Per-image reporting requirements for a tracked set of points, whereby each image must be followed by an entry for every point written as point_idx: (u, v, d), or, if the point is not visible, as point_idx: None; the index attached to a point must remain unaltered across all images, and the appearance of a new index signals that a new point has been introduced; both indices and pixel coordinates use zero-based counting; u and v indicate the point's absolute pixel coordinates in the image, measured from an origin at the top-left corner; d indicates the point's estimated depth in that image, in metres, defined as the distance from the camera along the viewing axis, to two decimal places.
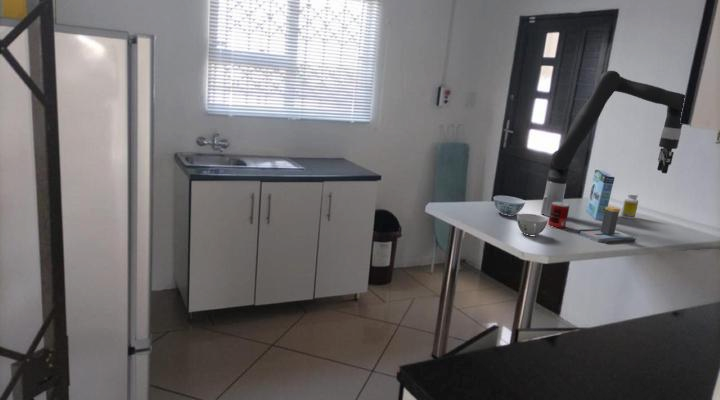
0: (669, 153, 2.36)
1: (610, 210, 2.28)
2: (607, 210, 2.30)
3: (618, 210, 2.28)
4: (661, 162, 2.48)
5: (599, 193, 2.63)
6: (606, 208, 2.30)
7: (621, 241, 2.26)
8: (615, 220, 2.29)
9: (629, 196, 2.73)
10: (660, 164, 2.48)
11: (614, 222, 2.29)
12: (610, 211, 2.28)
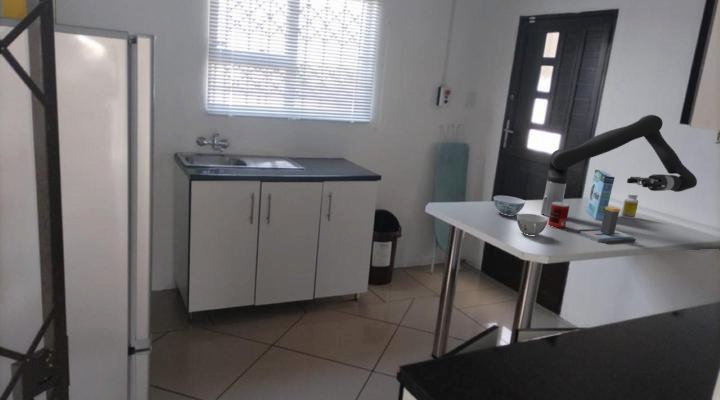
0: (664, 185, 2.29)
1: (610, 210, 2.28)
2: (607, 210, 2.30)
3: (618, 210, 2.28)
4: (634, 180, 2.36)
5: (599, 193, 2.63)
6: (606, 208, 2.30)
7: (621, 241, 2.26)
8: (615, 220, 2.29)
9: (629, 196, 2.73)
10: (633, 180, 2.36)
11: (614, 222, 2.29)
12: (610, 211, 2.28)
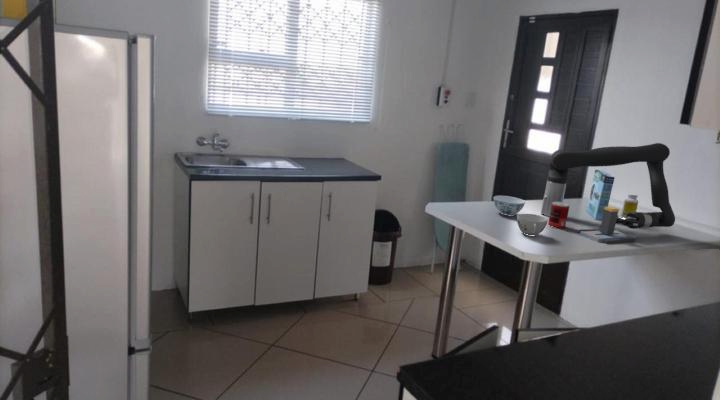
0: (636, 223, 2.30)
1: (609, 210, 2.28)
2: (606, 210, 2.29)
3: (617, 210, 2.28)
4: None
5: (599, 193, 2.63)
6: (605, 208, 2.30)
7: (621, 241, 2.26)
8: (614, 220, 2.29)
9: (629, 196, 2.73)
10: None
11: (613, 222, 2.29)
12: (609, 211, 2.28)
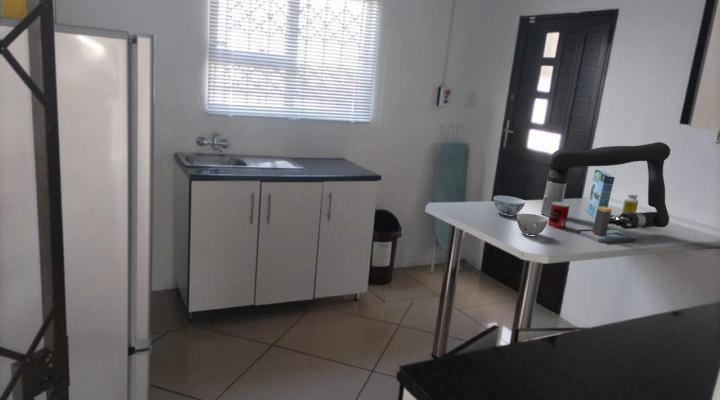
0: (629, 224, 2.28)
1: (602, 210, 2.26)
2: (599, 210, 2.28)
3: (610, 210, 2.26)
4: None
5: (599, 193, 2.63)
6: (598, 208, 2.28)
7: (621, 241, 2.26)
8: (607, 220, 2.27)
9: (629, 196, 2.73)
10: (609, 220, 2.31)
11: (606, 222, 2.27)
12: (602, 211, 2.26)
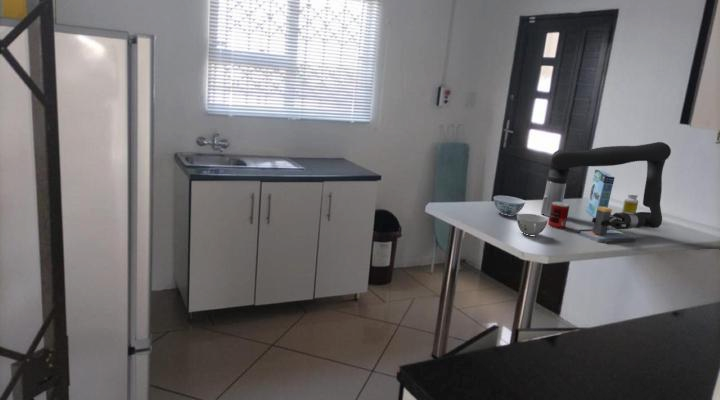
0: (624, 224, 2.26)
1: (602, 210, 2.26)
2: (599, 210, 2.28)
3: (610, 210, 2.26)
4: None
5: (599, 193, 2.63)
6: (598, 208, 2.28)
7: (621, 241, 2.26)
8: None
9: (629, 196, 2.73)
10: None
11: None
12: (602, 211, 2.26)
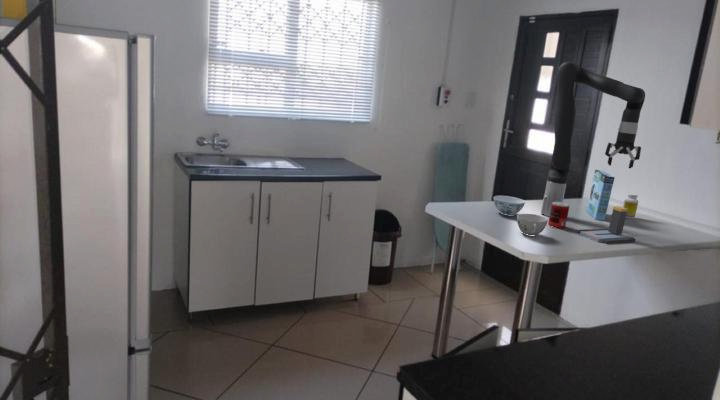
0: (640, 148, 2.36)
1: (618, 210, 2.30)
2: (614, 209, 2.32)
3: (626, 210, 2.30)
4: None
5: (599, 193, 2.63)
6: (614, 208, 2.32)
7: (621, 241, 2.26)
8: (623, 220, 2.31)
9: (629, 196, 2.73)
10: None
11: (622, 222, 2.31)
12: (618, 211, 2.30)
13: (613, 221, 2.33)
